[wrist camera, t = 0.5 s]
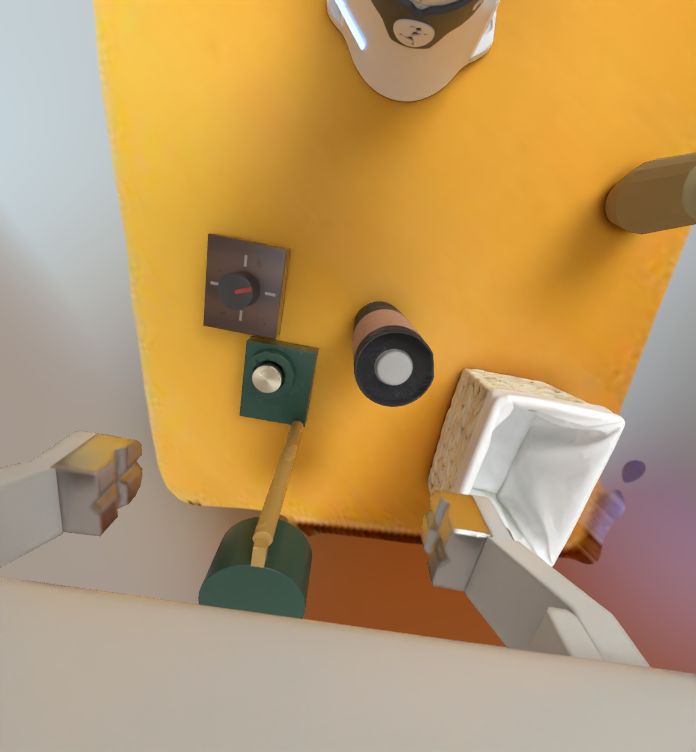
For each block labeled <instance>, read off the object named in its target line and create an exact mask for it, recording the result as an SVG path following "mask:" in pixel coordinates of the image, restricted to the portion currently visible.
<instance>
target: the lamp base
mask: <svg viewBox="0 0 696 752" xmlns="http://www.w3.org/2000/svg"><path fill="white" fill-rule="evenodd" d="M317 355H318V348H313V347H308V346H302V345H297V344H292V343H287V342H281V341H276V340H271V339H265V338H260V337H255V336H251V337H250V338H249V339H248V340H247V345H246V355H245V365H244V375H243V386H242V396H241V406H240V416H244V417H250V418H256V419H261V420H267V421H273V422H279V423H284V424H290V425H291V424H292V423H293V422H294V421H300V422H301V423H302V424H303V427H305V423H306V420H307V414H308V408H309V402H310V396H311V391H312V385H313V379H314V373H315V367H316V361H317ZM264 362H273V363H275V364H277V365H278V366H279V367H280V368H281V369H282V371H283V374H284V378H283V381H282V383H281V385H280V387H279V388H278V389H277V390H276V391H274V392H272V393H264V392H261V391H259V390H258V389H257V388H256V387H255V386H254V384H253V381H252V375H253V372H254V371H255V370H256V368H257V367H258V366H259V365H260V364H262V363H264Z"/></svg>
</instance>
